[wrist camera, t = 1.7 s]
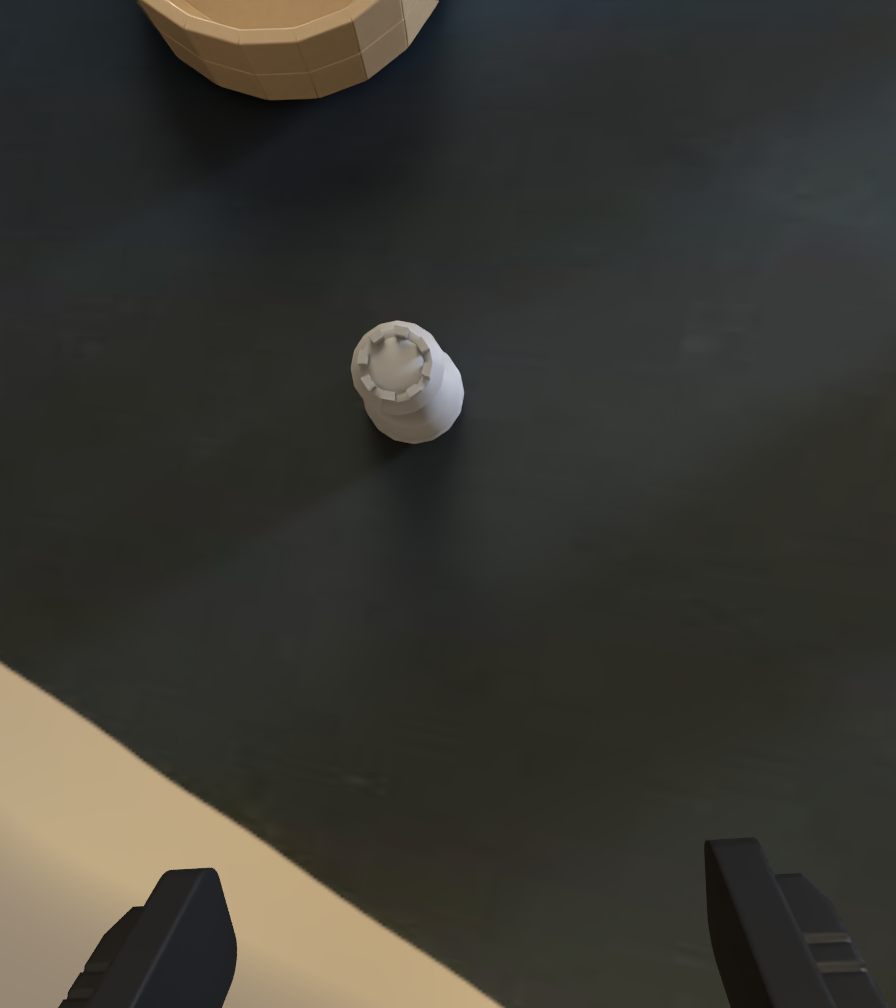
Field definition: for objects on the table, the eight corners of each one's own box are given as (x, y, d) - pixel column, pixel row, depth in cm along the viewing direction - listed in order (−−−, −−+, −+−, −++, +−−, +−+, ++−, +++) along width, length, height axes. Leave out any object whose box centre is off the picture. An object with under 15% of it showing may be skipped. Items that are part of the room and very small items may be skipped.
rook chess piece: (441, 459, 31) (431, 450, 23) (350, 422, 31) (308, 400, 23) (479, 367, 31) (482, 325, 23) (387, 329, 31) (357, 275, 23)
